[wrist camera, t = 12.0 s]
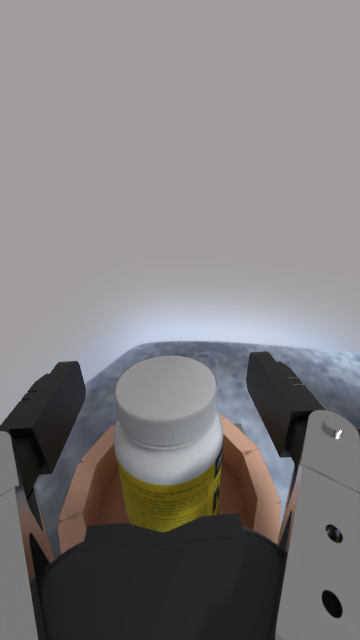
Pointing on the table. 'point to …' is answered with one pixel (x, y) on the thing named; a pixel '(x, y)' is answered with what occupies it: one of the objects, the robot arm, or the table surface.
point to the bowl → (108, 500)
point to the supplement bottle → (168, 442)
